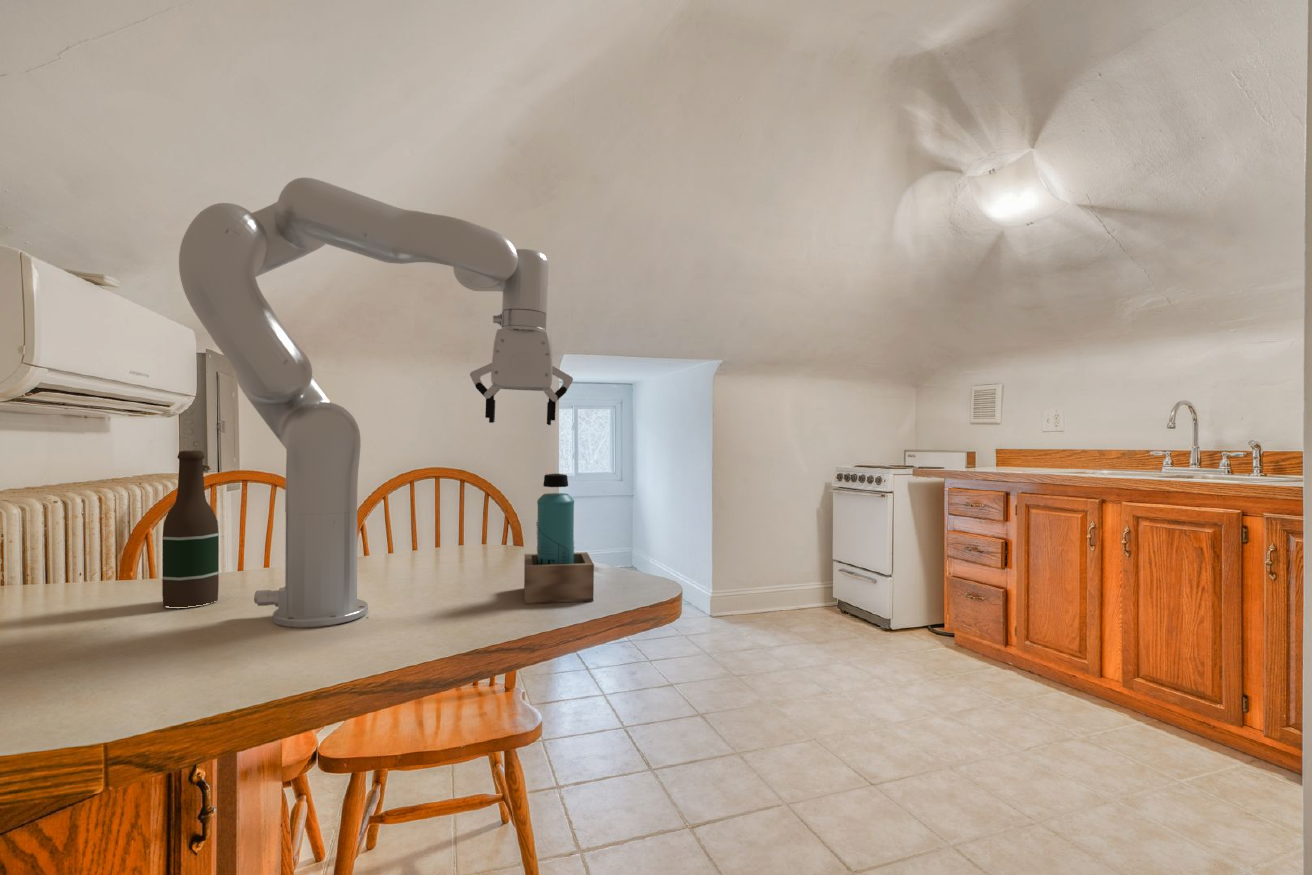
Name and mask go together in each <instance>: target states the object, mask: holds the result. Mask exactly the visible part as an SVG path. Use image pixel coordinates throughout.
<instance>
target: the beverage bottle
mask: <svg viewBox="0 0 1312 875" xmlns="http://www.w3.org/2000/svg"><path fill="white" fill-rule="evenodd" d="M568 480H569V479H568V475H567V474H564V473H547V474H544V477H543V487H546V488H566V487H569V481H568ZM536 503H537V520H536V539H537V540H536V541H537V545H536V546H537V547H536V550H535V552H536V554H537V562H536V565H548V564H574V562H575V561H574V560H575V559H574V557H575V556H574V553H575V549H576V548H575V540H574V534H575V533H574V527H575V523H574V520H575V517H574V516H575V515H574V514H575V513H574V510H575V500H574V498H573V497H572V496H571V495H570V494H569V493H563V492H552V493H551V492H549V493H544V494H542V495H540V497H539V498H538V499H537V500H536Z"/></svg>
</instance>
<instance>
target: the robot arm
mask: <svg viewBox="0 0 1312 875" xmlns="http://www.w3.org/2000/svg"><path fill="white" fill-rule="evenodd" d="M326 245H329V246H332V247H335V248H337V249H338V248H339V249H340V250H341V249H342V250H346V251H348V252H352V253H355V254H358V255H361V256H364V257H367V258H371V259H374V260H377V261H380V262H383V263H387V264H388V263H389V264H396V265H397V264H402V265H403V264H405V265H406V264H412V263H413V264H414V263H431V264H432V263H433V264H439V265H442V266H443V265H444V266H448V267H453V274H454V276H455V279H456V281H457V282H458V283H460V285H461V286H462V287H464V288H466V289H468V290H471V291H476V292H502V306H501V313H499V314H497V315H493V316H492V323H493V324H497V325H499V326H500V327H501V328H498V329H496V332H495V336H494V341H493V348H492V349H493V351H492V357H491V358H492V359H491V362H490V363H488V364H486V365H483V366H482V367H481V366H480V367H479V368H477V369H475V370H473V371H471V372H470V373H469V377H470V379H471V380H472V382H473V385H474V387H475V388H476V390H477V391H478V392H479V393H480V394H482V396H483V397H484V398H485V412H484V413H485V415H484V416H485V418H486V419H488V422H489V424H494V423H495V422H496V400H495V396H496V395H497V393H498V392H499V391H500V390H501V389H502V390H512V391H514V390H516V391H534V392H535V391H536V392H538V391H539V392H541V391H542V392H543V393H544V394H545V395H546V397H548V402H547V406H546V408H547V410H546V425H547V426H551V425H552V421H554V422H555V421H556V408H557V407H556V404H557V402H558V400H560V398H562V397H563V396H564V395H565V394H566V393H567V391H568V390H569V388H570V386H571V384H572V383H573V380H574V378H573V377H572V376H571V375H569V374H567V373H565V372H564V371H562V370H560V369H558V368H557V367H555V366H554V365H553V344H552V336H551V333H550V332H549V331H547V317H548V316H547V312H548V310H547V309H548V290H549V289H548V286H549V283H548V282H549V260H548V258H547V256H546V255H545V254H544V253H543V252H541V251H538V250H534V249H530V248H529V249H528V248H515V246H514V244H513V243H512V242H511V241H510V240H509V239H508V238H507V237H506V236H504V235H502V234H500V233H499V232H497V231H494V230H492V229H489V228H487V227H484V226H481V225H478V224H475V223H473V222H470V221H467V220H465V219H464V220H463V219H461V218H456V217H454V216H453V217H452V216H449V215H443V214H442V215H441V214H438V213H437V214H435V213H430V212H429V213H428V212H423V211H418V210H412V209H404V208H401V207H397V206H393V205H391V204H389V203H385V202H383V201H380V200H378V199H377V200H376V199H374V198H372V197H368V196H365V195H363V194H360V193H357V192H354V191H351V190H349V189H346V188H343V187H339V186H337V185H335V184H331V183H329V182H326V181H323V180H320V179H317V178H312V177H298V178H295V179H293V180H291V181H289V182H288V183H286V185H285V186H284V187H283V189H282V190H281V192H280V193H279V196H278V199H277V201H276V202H274V203H272V204H270V205H268V206H265V207H262V208H261V209H259V210H256V211H253V212H251V211H250V210H248V209H247V208H245V207H244V206H242V205H238V204H235V203H229V202H219V203H215V204H211V205H209V206H207V207H205V208H204V209H203V210H202V211H200V212H199V213H198V214H196V216H195V217H194V218H193V220H192V221H191V222H190V224H189V225H188V227H187V229H186V231H185V233H184V235H183V237H182V240H181V244H180V248H179V253H178V269H179V270H178V271H179V276H180V282H181V286H182V288H183V291H184V295H185V296H186V299H187V301H188V303H189V305H190V307H191V308H192V309H191V310H193V312H194V313H195V315H196V317H197V319H198V320H199V322H200V323H201V324H202V326H203V327H204V329H205V330H206V331H207V333H208V334H209V337H211V339H212V340H213V342H214V344H216V347H218V349H219V350H220V352H221V353H222V355H224V357H225V358H226V359H227V361H228V363H229V364H230V366H231V368H233V370H234V372H235V376H236V381H237V384H238V386H239V388H240V389H241V391H242V393H243V394H244V395H245V397H246V399H247V400H248V402H250V404H251V405H252V407H253V408H254V409H255V411H256V412H257V413H258V414H259V416H260V417H261V418H262V419H263V421H264V422H265V423H266V425H267V427H268V428H269V429H270V430H271V431H272V433H273V434H274V436H275V437H276V438H277V439H278V440H279V442H280V443H281V445H282V446H283V447H284V448H285V449H286V460H285V462H286V464H285V492H284V494H285V497H284V500H285V501H284V505H285V506H284V507H285V509H284V510H285V558H284V559H285V561H284V562H285V566H284V567H285V570H284V571H285V572H284V573H285V580H284V582H285V585H284V586H283V587H279V589H277V590H276V589H275V590H271V589H261V590H260V589H259V590H255V592H254V594H253V595H254V596H253V597H254V598H253V602H254V604H256V605H257V606H259V607H262V606H263V607H265V606H275V607H276V608H277V609H275V610H274V612H272V621H273V623H275V624H276V625H278V624H279V625H278V626H283V627H287V628H288V627H289V628H318V627H326V626H334V625H337V624H343V623H347V622H351V621H355V620H358V619H359V618H362V617H363V616H364V617H365V615H366V614H367V613H368V612H369V604H368V602H366V601H365V600H362V599H359V598H358V482H359V481H358V480H359V479H358V478H359V467H360V466H359V465H360V459H361V458H360V457H361V444H362V443H361V441H362V440H361V432H360V429H359V425H358V423H357V420H356V419H355V417H354V416H353V414H351V412H349V411H348V410H347V409H346V408H344V407H343V406H341V405H339V404H336V403H334V402H332V401H331V400H330V399H329V397H328V396H327V394H326V393H325V392H324V390H323V389H322V387H321V386H320V384H319V383H318V381H317V380H316V379H315V378H314V376H313V368H312V364H311V361H310V359H309V357H308V356H307V354H306V353H305V352H304V350H303V349H302V348H301V347H300V346H299V345H298V344H297V342H296V341H295V339H294V338H293V337H292V336H291V334H290V333H289V331H288V330H287V329H286V327H285V326H284V325H283V324H282V322H281V321H280V319H279V318H278V316H277V315H276V313H275V312H274V310H273V309H272V307H271V305H270V304H269V302H268V301H267V299H266V298H265V296H264V295H263V293H262V291H261V289H260V287H259V284H258V282H257V278H256V277H259V276H261V275H264V274H266V273H268V272H270V271H273V270H275V269H277V268H280V267H282V266H285V265H287V264H288V263H291V262H293V261H296V260H298V259H300V258H303V257H305V256H307V255H309V254H312V253H313V252H315V251H317V250H318V249H321V248H322V247H325V246H326ZM487 374H490V381H491V383H492V384H491V386H489V388H486V386H485V385H484V384H483V382H482V380H481V378H482V377H483V376H484V375H485V376H486V375H487ZM553 376H554V377H556V378H558V379H560V380H561V381H562V385H561V386H560V388H558V390H556V391H555V392H554V390H553V389H552V388H551V386H552V384H553Z"/></svg>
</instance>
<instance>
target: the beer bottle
mask: <svg viewBox="0 0 1312 875" xmlns="http://www.w3.org/2000/svg"><path fill="white" fill-rule="evenodd" d="M204 453H205V452H204V451H202V450H181V451H179V452H178V454H177V457H176V458H177V459H178V460H179V462H178V464H179V467H178V479H177V480H178V481H177V490H176V491H177V493H176V497H175V502H174V504H173V505H172V506H171V508H170V509H169V510H168V512H167V513H166V514H167V515H166V517H165V519H164V521H163V527H162V538H161V539H162V542H161V543H162V546H161V547H162V554H161V555H162V559H161V560H162V561H161V562H162V575H161V576H162V584H161V585H162V586H161V588H162V595H161V596H162V606H169V607H188V606H196V605H203V604H206V603H211V602H214V601H217V602H218V600H219V584H220V583H219V578H220V577H219V566H220V565H219V555H220V554H219V552H220V549H219V548H220V546H219V542H220V540H219V538H220V536H219V534H220V533H219V531H220V530H219V521H218V519H217V516H216V513H215V511H214V509H213V508H212V507H211V506H210V504H209V503H208V501H207V497H206V492H205V491H206V490H205V478H204V466H203V465H204V462H203V461H204V460H203V459H205V458H206V457H205V454H204Z"/></svg>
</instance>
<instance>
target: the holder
mask: <svg viewBox="0 0 1312 875" xmlns="http://www.w3.org/2000/svg"><path fill="white" fill-rule="evenodd" d="M574 556H575V557H574V559H575V560H574V561H575V562H574V564H548V565H536V562H537V553H524V561H523V562H524V563H523V564H524V569H523V570H524V572H523V573H524V574H523V576H524V577H523V578H524V580H523V581H524V582H523V583H524V585H523V588H524V589H523V590H524V594H523V596H524V605H533V604H534V605H535V603H538V604H554V603H555V604H560V603H559V602H563V603H579V602H578V601H589V602H594V594H595V593H594V592H595V591H594V589H595V588H594V587H595V586H594V584H595V582H594V581H595V580H594V579H595V578H594V577H595V574H594V573H595V570H594V569H595V565H594V564H595V563H594V562H593V560H592V559H591V557H590V555H589V553H588V552H585V551H584V552H574Z"/></svg>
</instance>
